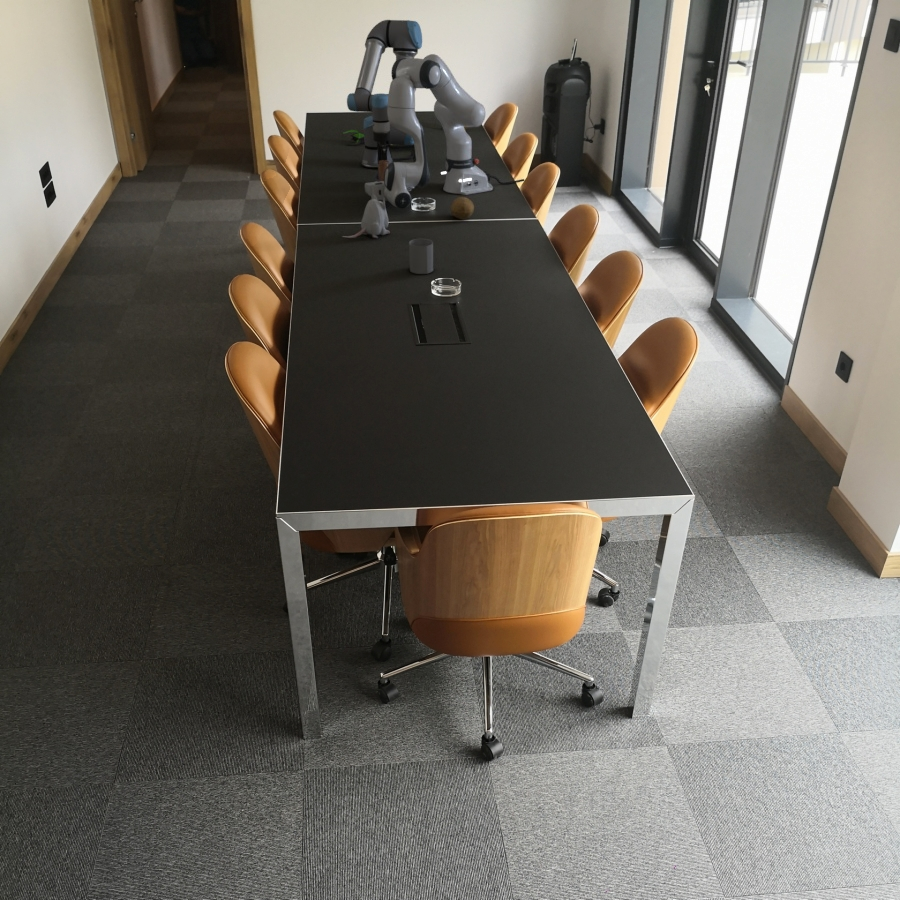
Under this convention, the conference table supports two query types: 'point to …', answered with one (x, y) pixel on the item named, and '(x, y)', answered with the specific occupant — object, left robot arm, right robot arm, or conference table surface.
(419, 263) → the cup
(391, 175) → the right robot arm
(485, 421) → the conference table surface
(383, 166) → the jar
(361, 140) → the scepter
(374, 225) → the toy
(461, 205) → the potato
